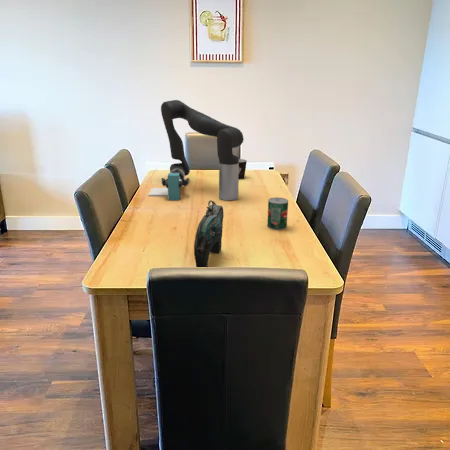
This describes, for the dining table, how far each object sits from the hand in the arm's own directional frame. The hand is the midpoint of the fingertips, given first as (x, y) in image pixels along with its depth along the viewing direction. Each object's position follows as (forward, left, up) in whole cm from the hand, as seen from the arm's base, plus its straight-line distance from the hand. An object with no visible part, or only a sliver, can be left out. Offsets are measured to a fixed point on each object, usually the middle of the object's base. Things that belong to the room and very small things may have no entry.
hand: (173, 185), depth 209 cm
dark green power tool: (-19, +66, -7) cm, 69 cm away
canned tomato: (-45, +34, -7) cm, 57 cm away
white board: (+7, -13, -7) cm, 16 cm away
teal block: (0, -3, -7) cm, 7 cm away
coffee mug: (-31, -45, -7) cm, 55 cm away
